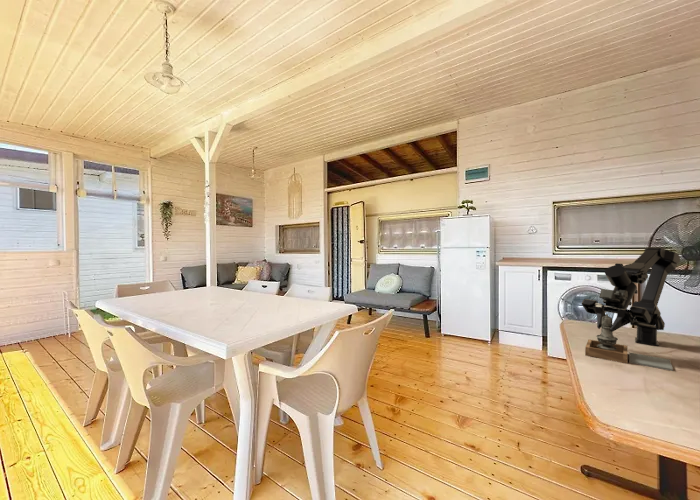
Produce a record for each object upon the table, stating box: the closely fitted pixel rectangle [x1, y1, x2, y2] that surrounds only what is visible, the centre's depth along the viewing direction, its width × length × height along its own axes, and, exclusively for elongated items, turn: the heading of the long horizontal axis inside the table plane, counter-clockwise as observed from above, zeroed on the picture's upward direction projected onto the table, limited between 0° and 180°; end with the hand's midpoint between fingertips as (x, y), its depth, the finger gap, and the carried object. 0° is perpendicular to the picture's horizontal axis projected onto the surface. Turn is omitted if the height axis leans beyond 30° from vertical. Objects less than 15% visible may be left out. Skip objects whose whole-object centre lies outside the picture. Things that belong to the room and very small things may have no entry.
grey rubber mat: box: [628, 352, 674, 372], centre depth 102 cm, size 10×10×1 cm
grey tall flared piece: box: [595, 313, 618, 350], centre depth 109 cm, size 6×6×12 cm
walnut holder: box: [584, 339, 629, 364], centre depth 109 cm, size 11×11×3 cm
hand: (604, 329), depth 108 cm, fingers closed on grey tall flared piece, 4 cm apart
